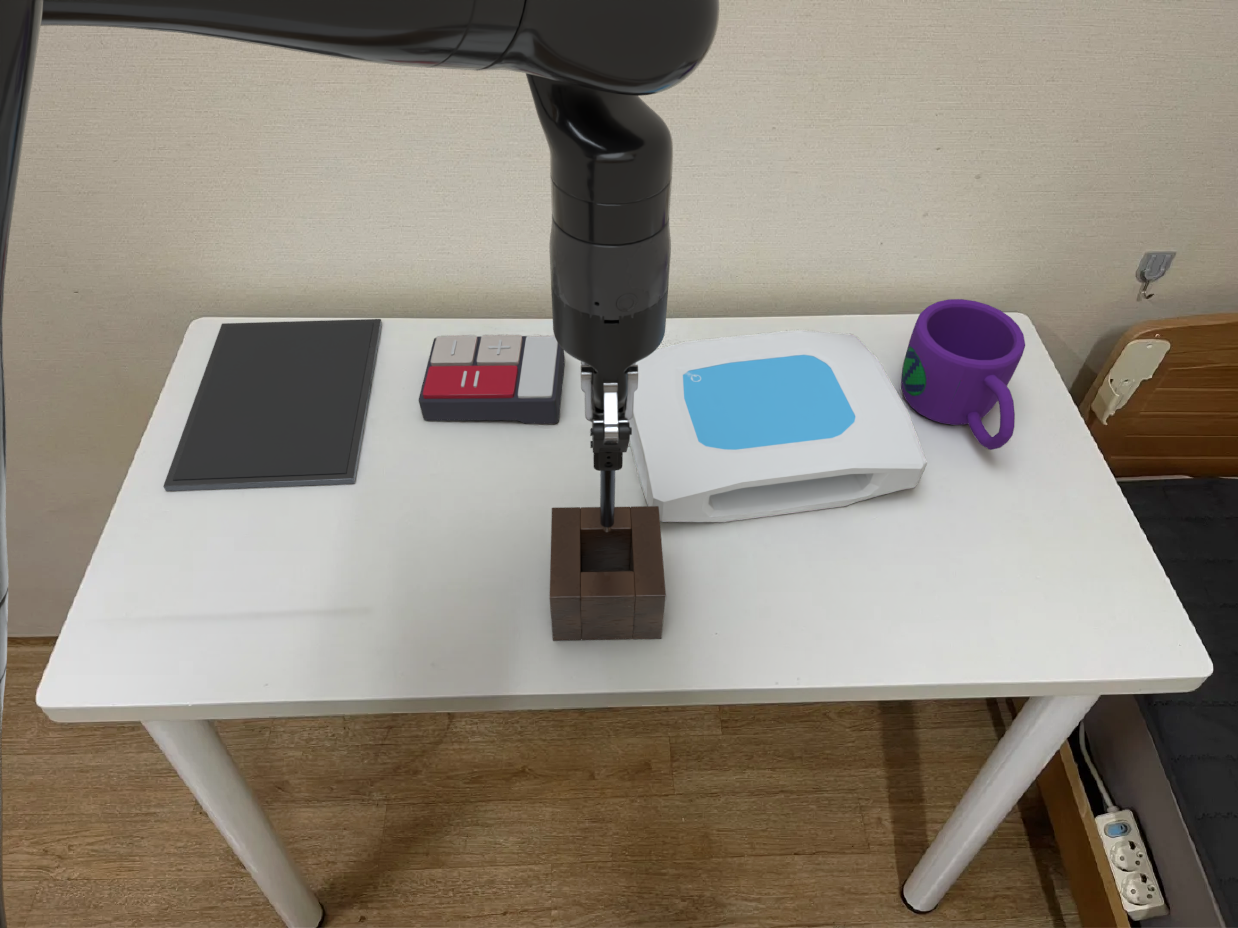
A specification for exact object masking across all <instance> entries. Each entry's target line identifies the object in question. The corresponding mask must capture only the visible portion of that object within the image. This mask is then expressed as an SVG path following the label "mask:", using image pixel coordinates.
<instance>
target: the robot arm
mask: <svg viewBox="0 0 1238 928" xmlns="http://www.w3.org/2000/svg"><path fill="white" fill-rule="evenodd" d="M719 20H720V0H0V928H8V921H7V913H6V906H5V904H6V903H5V893H4V892H5V891H4V869H3V868H4V862H3V861H4V860H3V859H4V858H3V857H4V856H3V854H4V853H3V851H4V850H3V849H4V848H3V847H4V846H3V842H4V840H3V839H4V838H3V837H4V836H3V835H4V834H3V833H4V827H3V826H4V819H3V818H4V811H3V810H4V809H3V808H4V807H3V806H4V805H3V800H4V798H3V797H4V796H3V748H2V747H3V715H4V698H5V688H6V678H7V663H8V626H9V625H8V624H9V623H8V622H9V621H8V620H9V619H8V618H9V617H8V616H9V582H10V581H9V578H10V577H9V562H8V561H9V560H8V546H7V545H8V544H7V543H8V542H7V517H6V512H7V479H8V478H7V475H8V474H7V467H8V466H7V461H8V460H7V457H8V454H7V453H8V452H7V442H8V441H7V440H8V438H7V437H8V435H7V433H8V432H7V428H8V427H7V402H6V400H7V399H6V397H7V396H6V377H5V362H4V329H3V328H4V326H3V325H4V324H3V318H4V299H5V283H6V282H5V281H6V280H5V279H6V272H7V263H8V262H7V261H8V252H9V242H10V234H11V227H12V220H13V211H14V205H15V199H16V193H17V185H18V180H19V179H18V177H19V171H20V166H21V165H20V164H21V157H22V150H23V144H24V137H25V130H26V123H27V117H28V112H29V105H30V99H31V92H32V87H33V81H34V80H33V79H34V74H35V67H36V62H37V61H36V60H37V55H38V54H37V52H38V46H39V40H40V32H41V27H43V26H44V27H45V26H46V27H47V26H59V27H61V26H62V27H63V26H64V27H65V26H67V27H71V26H72V27H73V26H74V27H99V28H100V27H101V28H102V27H104V28H120V29H133V30H134V29H135V30H144V31H145V30H146V31H157V32H167V33H179V34H186V35H193V36H201V37H207V38H215V39H223V40H229V41H233V42H234V41H235V42H240V43H247V44H253V45H257V46H258V45H259V46H264V47H270V48H275V49H282V50H286V51H293V52H298V53H303V54H304V53H305V54H310V55H316V56H322V57H327V58H333V59H334V58H335V59H341V60H349V61H356V62H363V63H370V64H371V63H372V64H378V65H379V64H380V65H388V66H389V65H390V66H398V67H399V66H401V67H413V68H426V69H427V68H429V69H445V70H462V71H477V72H478V71H479V72H480V71H508V72H516V73H517V72H518V73H522V74H525V77H526V79H527V84H528V87H529V91H530V94H531V98H532V101H533V104H534V108H535V111H536V115H537V118H538V120H539V123H540V126H541V129H542V132H543V134H544V136H545V141H546V143H547V147H548V150H549V166H550V167H549V178H550V179H549V180H550V198H551V199H550V201H551V227H550V234H549V244H548V245H549V250H548V251H549V269H550V270H549V273H550V291H551V292H550V293H551V295H550V296H551V315H552V329H553V330H552V332H553V336H555V338H556V340H557V342H558V344H559V345H560V347H561V348H562V349H563V350H564V353H566V354H567V355H569V356H570V357H572V358H574V359H575V360H577V361H580V389H581V391H582V392H583V393H584V418H585V420H586V421H588V422H590V423H591V427H590V429H589V437H591V440H590V441H589V443H590V449H592V453H593V457H592V459H593V469H594V470H596V471H599V472H600V471H615V470H616V471H620V470H621V469H623V460H624V457H623V455H624V453H627V451H628V448H629V445H630V443H629V440H630V435H632V427H630V424H629V420H631V419H632V418H633V405H634V392H635V391H636V390H637V389H638V365H635V364H636V362H638V361H640V360H642V359H644V358H646V357H647V356H649V355H650V354H652V353H653V352H654V351H655V350H657V349H659V348H658V347H660V346H661V344H662V342H663V340H664V337H665V334H666V327H667V326H666V325H667V312H668V297H669V284H670V283H669V281H670V270H671V269H670V268H671V257H672V256H671V255H672V238H671V229H670V227H671V226H670V213H671V212H670V211H671V199H672V198H671V197H672V184H673V183H672V182H673V167H674V163H673V162H674V142H673V137H672V134H671V130H670V129H669V127H668V125H667V122H665V121H664V119H663V118H662V117H661V116H660V115H659V114H658V113H657V112H656V111H655V110H654V109H653V108H651V107H650V106H649V105H648V104H647V103H646V102H645V101H644V100H643V99H642V98H641V97H642V96H650V95H655V94H659V93H662V92H665V91H668V90H670V89H672V88H674V87H676V86H677V85H680V84H681V83H682V82H684V81H685V80H686V79H688V78H689V77H690V76H691V75H692V74H693V73H694V72H695V71H696V70H697V69H698V68H699V67H700V66H701V64H702V63H703V61H704V60H705V58H706V57H707V56H708V54H709V52H710V50H711V48H712V46H713V43H714V41H715V39H716V38H715V37H716V35H717V31H718V28H719ZM616 471H615V472H616Z"/></svg>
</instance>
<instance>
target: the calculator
mask: <svg viewBox="0 0 1238 928" xmlns="http://www.w3.org/2000/svg"><path fill="white" fill-rule="evenodd" d="M430 348H431V349H430V352H429V353H430V354H429V357H428V362H427V364H426V369H425V372H424V376H423V380H422V385H421V387H420V393H419V397H418V405H419V409H420V411H421V415H422V418H423V420H424V421H428V422H431V421H432V422H433V421H434V422H435V421H517V422H519V423H523V424H525V425H549V424H550V425H552V424H553V425H554V424H558V423H559V421H560V415H561V413H560V412H561V402H562V393H563V383H564V374H565V363H566V357H565V351H564V350H563V349H562V348H561V347H560V345H559V344H558V342H557V340H556V338H555V335H522V334H483V335H480V336H478V335H475V334H464V335H463V334H459V335H458V334H457V335H454V334H453V335H451V334H450V335H448V334H447V335H446V334H445V335H437V336H436V337H434V338H433V340H432V345H431V347H430Z"/></svg>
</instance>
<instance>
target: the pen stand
mask: <svg viewBox="0 0 1238 928" xmlns="http://www.w3.org/2000/svg"><path fill="white" fill-rule="evenodd" d="M550 522H551V524H550V526H551V528H550V532H551V533H550V563H549V564H550V569H549V570H550V571H549V605H550V606H549V608H550V619H551V620H550V621H551V622H550V623H551V635H552V641H553V642H558V641H560V642H561V641H564V642H565V641H611V640H614V641H615V640H617V641H618V640H661V639H662V636H663V627H664V618H665V617H664V616H665V607H666V600H667V599H666V597H667V593H666V581H665V568H664V555H663V543H662V531H661V530H662V529H661V521H660V516H659V507H658V506H648V505H647V506H643V505H641V506H639V505H637V506H615V514H614V524H613V526H611V531H610V532H605V531H604V530H603V526H602V525H601V524H600V506H581V507H579V506H575V507H573V506H572V507H571V506H569V507H551V521H550Z"/></svg>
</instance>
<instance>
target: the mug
mask: <svg viewBox="0 0 1238 928" xmlns="http://www.w3.org/2000/svg"><path fill="white" fill-rule="evenodd" d="M914 323H915V324H914V327H913V330H912V332H911V336H910V339H909V342H908V345H907V349H906V352H905V355H904V359H903V363H902V368H901V376H900V377H901V378H900V379H901V380H900V384H901V385H900V386H901V391H902V394H903V396H904V399H905V401H906V402H907V403H908V405H909V406H910V407H911V408H912V409H913V410H914V411H916V412H917V413H918V414H919V415H922V416H923V417H925V418H927V419H929V420H931V421H934V422H937V423H940V424H947V425H953V426H957V425H960V426H961V425H962V426H963V425H965V426H966V425H968V427H969V429H970V431H971V433H972V435H973V437H974V438H975V439H976V441H977V442H978V444H979V445H980V446H982V447H984V448H985V449H987V450H989V451H991V450H996V449H1000V448H1002V447H1004V445H1006V444H1007V443H1009V440H1011V438H1012V437H1013V436H1014V430H1015V421H1016V412H1015V404H1014V398H1013V395H1012V392H1011V390H1010V388H1009V387H1008V385H1009V383H1010V381H1011V379H1012V378H1013V375H1014V374H1015V373H1016V370H1017V367H1018V366H1019V363H1020V362H1021V359H1022V357H1023V354H1024V351H1025V347H1026V341H1025V336H1024V332H1023V331H1022V329H1021V327H1020V325H1018V324H1017V322H1016V321H1015V320H1014V319H1013V318H1012V317H1011V316H1009V315H1008V314H1006V312H1004V311H1002V310H1001V309H999V308H996V307H994V306H992V305H990V304H987V303H984V302H980V301H978V300H977V301H976V300H972V299H971V300H970V299H964V298H951V299H950V298H949V299H948V298H947V299H945V300H940V301H936V302H934V303H932V304H930V305H928V306H927V307H926V308H925V309H924V310H922V311H921V312H920V313H919V315H918V317H917V319H916V321H915V322H914ZM997 403H998V407H999V408H998V409H999V429H998V432H997V433H996V434H994V435H993V436H992V435H991V434H990V433H989V431H988V430H987V428H986V427H985V425H984V423H983V421H982V419H983V418H984V417H986V416H987V415H988V414H989V413H990V411H992V410H993V408H994V407H995V406H996V404H997Z"/></svg>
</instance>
